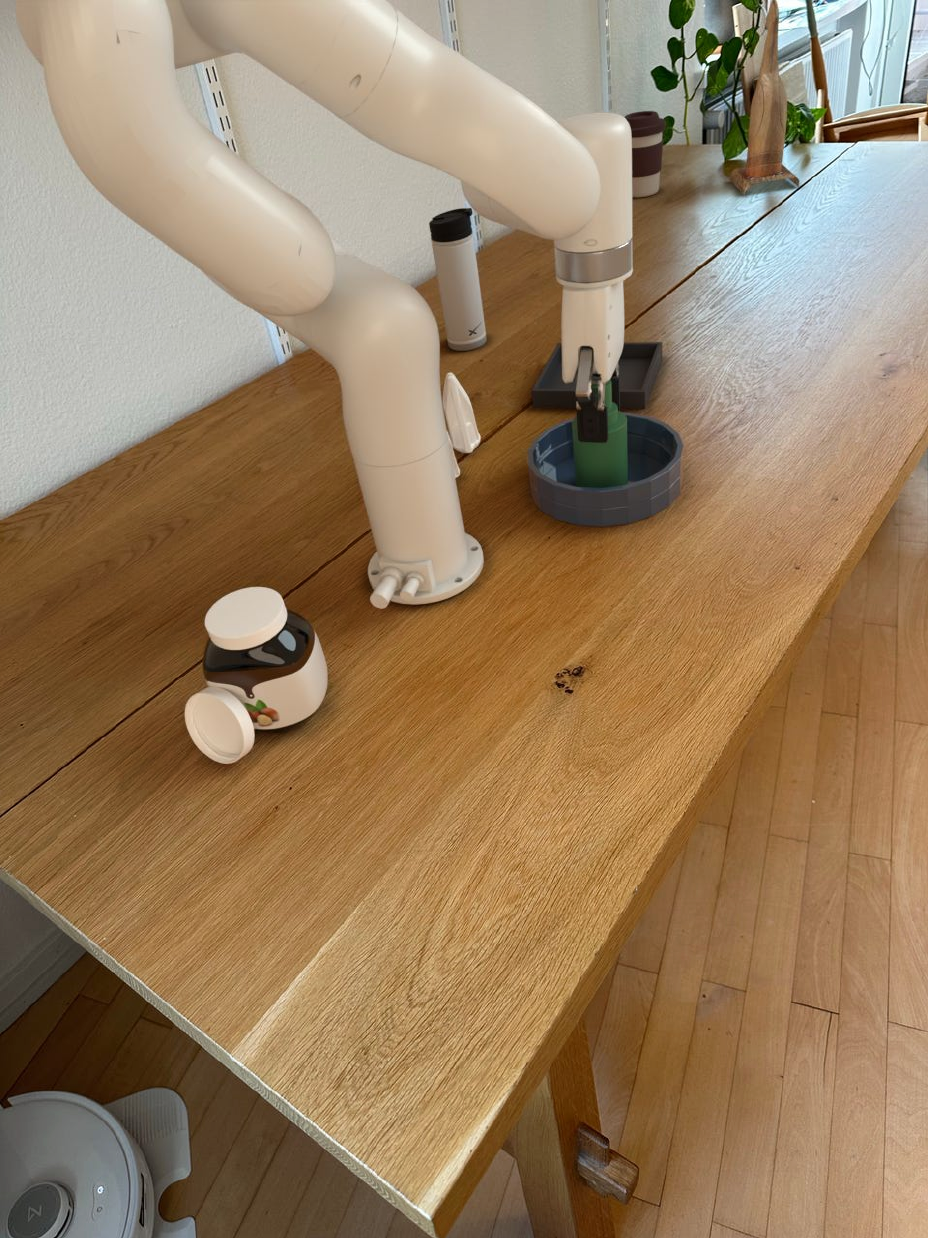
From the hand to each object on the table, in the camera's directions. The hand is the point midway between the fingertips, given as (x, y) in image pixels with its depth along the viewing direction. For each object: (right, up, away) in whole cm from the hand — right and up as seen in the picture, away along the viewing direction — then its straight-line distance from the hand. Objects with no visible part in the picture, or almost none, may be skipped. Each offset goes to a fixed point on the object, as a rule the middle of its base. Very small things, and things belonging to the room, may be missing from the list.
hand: (599, 424), depth 96 cm
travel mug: (-14, +23, +43) cm, 51 cm away
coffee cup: (+23, +70, +91) cm, 118 cm away
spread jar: (-33, -31, -16) cm, 48 cm away
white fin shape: (-16, -2, +15) cm, 22 cm away
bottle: (+1, -6, +5) cm, 7 cm away
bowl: (+2, -6, +5) cm, 8 cm away
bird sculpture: (+47, +68, +83) cm, 117 cm away
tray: (+4, +11, +25) cm, 28 cm away
